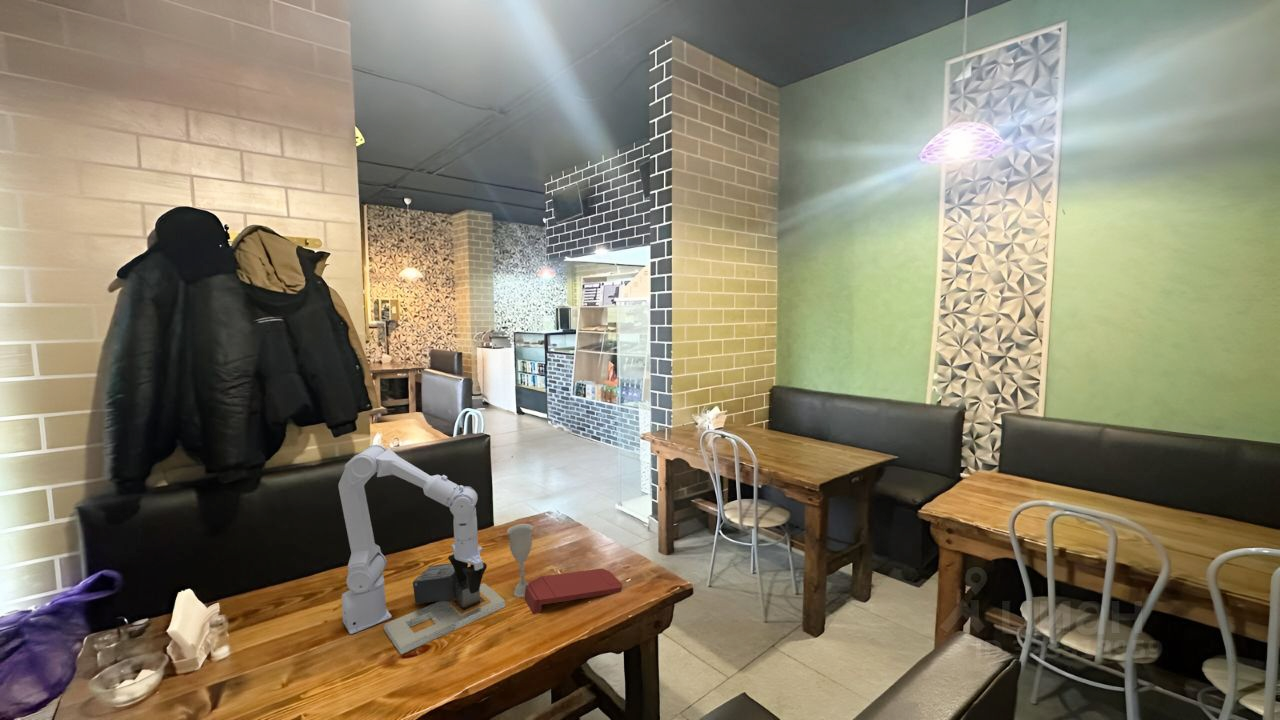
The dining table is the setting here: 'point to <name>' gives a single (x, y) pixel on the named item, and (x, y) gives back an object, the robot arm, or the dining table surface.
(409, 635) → the rail plate
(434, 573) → the small box
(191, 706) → the dining table surface
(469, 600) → the post
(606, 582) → the carton
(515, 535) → the chalice
